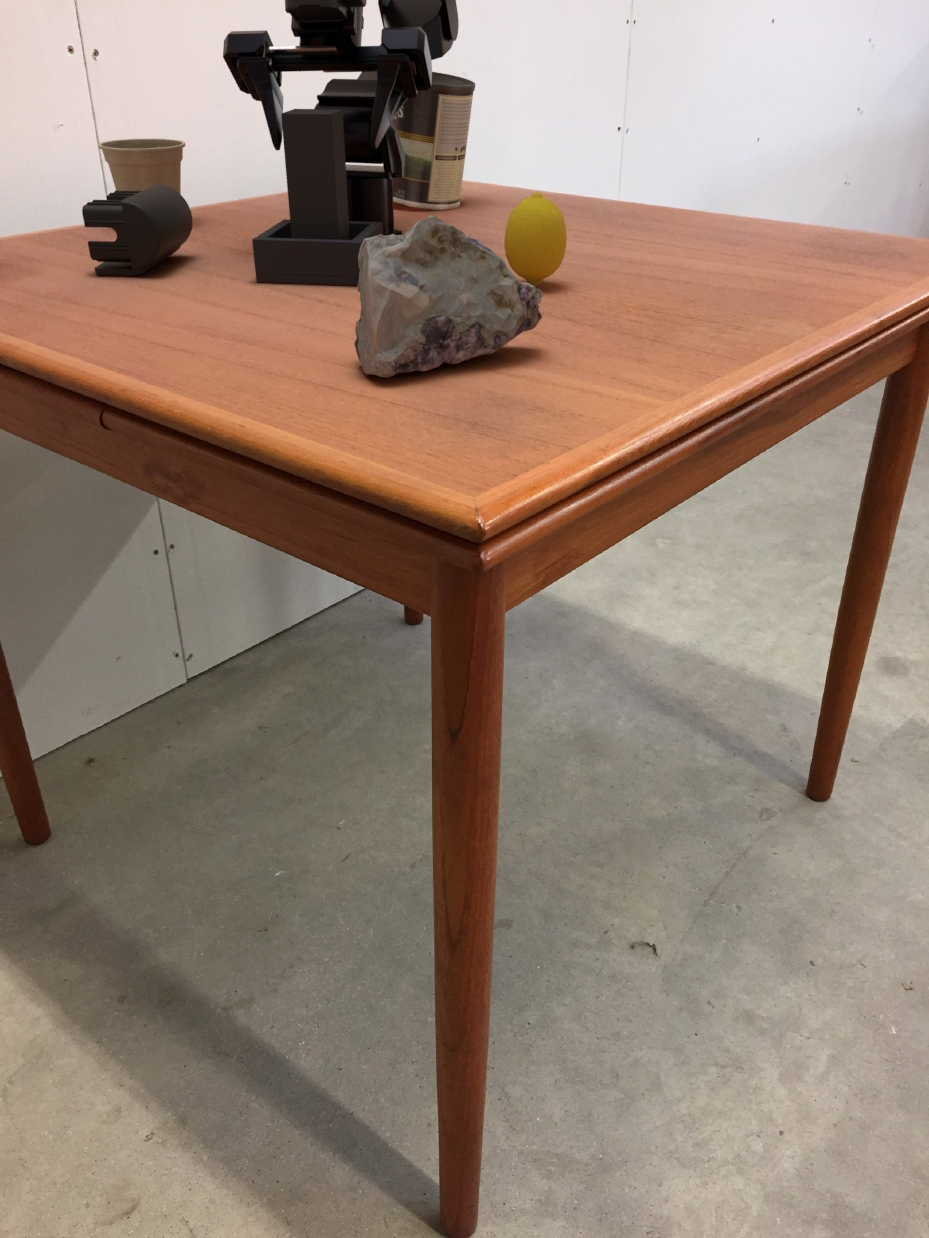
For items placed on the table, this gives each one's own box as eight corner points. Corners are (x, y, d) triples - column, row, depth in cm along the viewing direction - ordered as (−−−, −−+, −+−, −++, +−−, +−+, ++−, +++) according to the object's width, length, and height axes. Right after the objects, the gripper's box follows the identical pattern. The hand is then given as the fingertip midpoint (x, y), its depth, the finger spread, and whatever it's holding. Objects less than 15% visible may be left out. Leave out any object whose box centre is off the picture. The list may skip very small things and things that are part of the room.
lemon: (570, 282, 93) (575, 189, 89) (555, 296, 89) (559, 199, 84) (513, 277, 95) (515, 186, 90) (495, 291, 90) (497, 195, 86)
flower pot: (212, 222, 118) (203, 141, 113) (151, 236, 111) (138, 150, 107) (156, 214, 122) (144, 136, 118) (94, 227, 115) (79, 144, 111)
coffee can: (386, 206, 123) (396, 77, 115) (376, 187, 132) (385, 65, 124) (467, 213, 126) (483, 88, 118) (453, 194, 134) (466, 75, 126)
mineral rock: (542, 346, 76) (548, 204, 71) (535, 392, 67) (541, 233, 61) (373, 340, 77) (367, 200, 72) (344, 385, 68) (334, 228, 63)
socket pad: (287, 259, 101) (283, 219, 99) (384, 262, 100) (382, 222, 98) (256, 282, 93) (251, 239, 91) (362, 286, 92) (360, 242, 90)
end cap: (165, 278, 94) (154, 201, 90) (91, 277, 94) (77, 200, 91) (198, 255, 102) (188, 184, 99) (130, 254, 103) (118, 183, 99)
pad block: (305, 257, 98) (294, 109, 92) (350, 258, 98) (342, 109, 91) (293, 267, 95) (281, 113, 88) (340, 268, 94) (331, 114, 87)
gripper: (207, -74, 87) (196, 96, 86) (419, -82, 86) (411, 92, 84) (247, 14, 98) (237, 166, 97) (435, 9, 97) (428, 164, 95)
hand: (324, 147), depth 93 cm, fingers open, 9 cm apart
